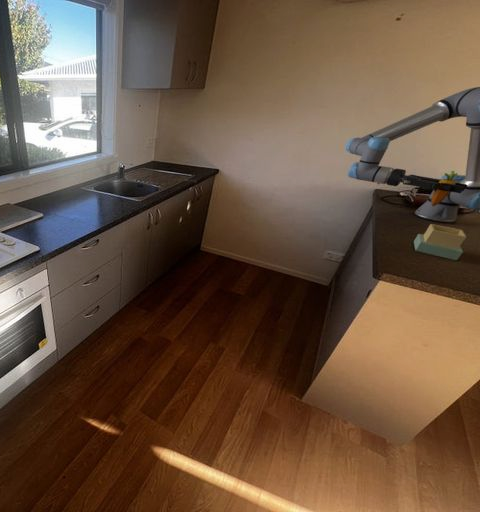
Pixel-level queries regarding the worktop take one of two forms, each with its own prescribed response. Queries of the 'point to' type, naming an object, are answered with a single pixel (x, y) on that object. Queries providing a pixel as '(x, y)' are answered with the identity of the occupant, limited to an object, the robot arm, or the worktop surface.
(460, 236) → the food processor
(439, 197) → the carrot
